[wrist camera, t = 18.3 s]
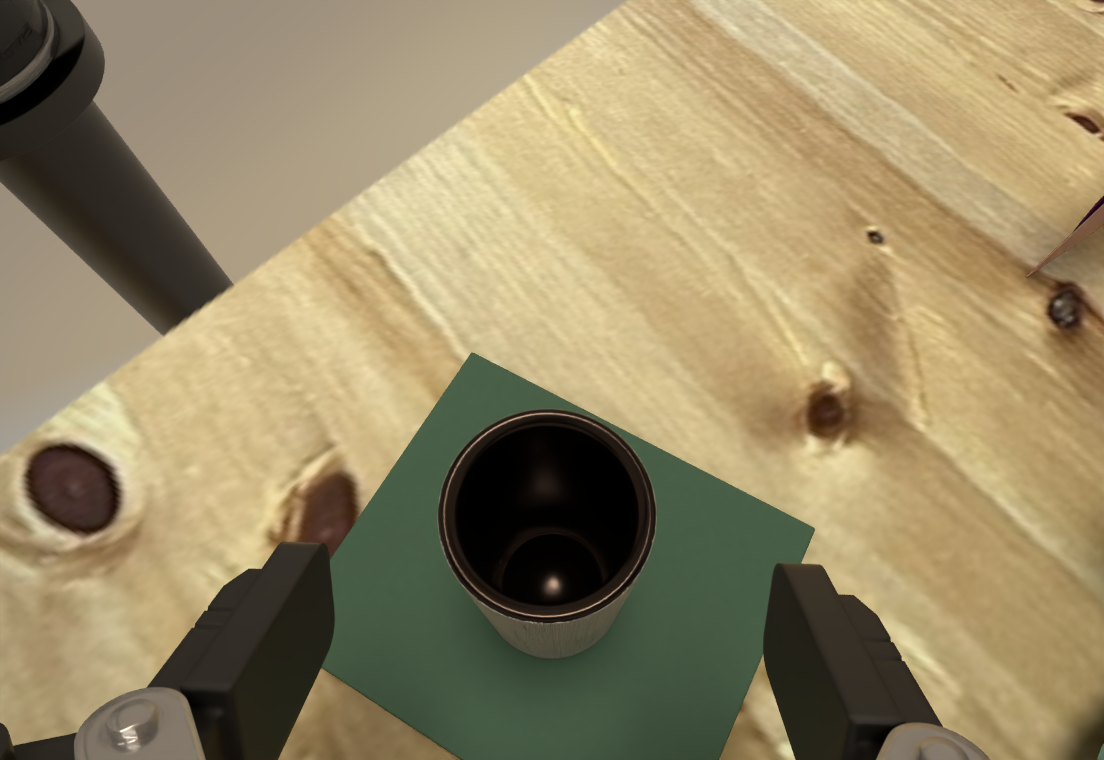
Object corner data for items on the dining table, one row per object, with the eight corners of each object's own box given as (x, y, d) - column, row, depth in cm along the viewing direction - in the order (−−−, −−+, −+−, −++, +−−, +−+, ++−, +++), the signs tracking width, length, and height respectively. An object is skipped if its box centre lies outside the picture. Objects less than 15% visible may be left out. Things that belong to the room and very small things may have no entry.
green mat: (282, 639, 24) (276, 637, 24) (473, 357, 28) (471, 350, 28) (661, 888, 21) (663, 893, 21) (810, 532, 25) (816, 528, 25)
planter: (580, 688, 23) (593, 670, 14) (458, 614, 24) (392, 551, 14) (643, 560, 25) (694, 466, 15) (527, 497, 25) (507, 372, 16)
